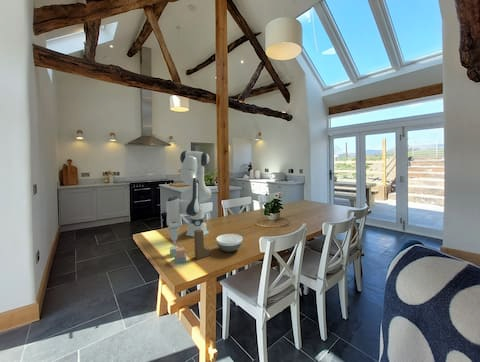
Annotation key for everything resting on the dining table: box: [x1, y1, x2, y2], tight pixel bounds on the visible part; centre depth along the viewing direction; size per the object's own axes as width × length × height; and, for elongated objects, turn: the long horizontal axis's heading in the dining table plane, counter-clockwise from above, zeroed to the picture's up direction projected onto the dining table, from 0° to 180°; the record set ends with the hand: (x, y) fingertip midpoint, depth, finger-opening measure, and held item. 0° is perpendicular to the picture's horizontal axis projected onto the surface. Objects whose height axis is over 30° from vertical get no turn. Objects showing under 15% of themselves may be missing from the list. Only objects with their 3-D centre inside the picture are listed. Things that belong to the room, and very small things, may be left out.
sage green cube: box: [169, 245, 179, 258], centre depth 152 cm, size 5×5×5 cm
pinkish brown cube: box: [176, 247, 186, 259], centre depth 143 cm, size 5×5×5 cm
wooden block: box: [193, 229, 211, 260], centre depth 148 cm, size 9×4×18 cm, turn 130°
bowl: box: [215, 233, 244, 253], centre depth 160 cm, size 19×19×8 cm
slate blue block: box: [174, 253, 187, 265], centre depth 143 cm, size 7×7×2 cm
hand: (174, 242), depth 150 cm, fingers open, 8 cm apart
